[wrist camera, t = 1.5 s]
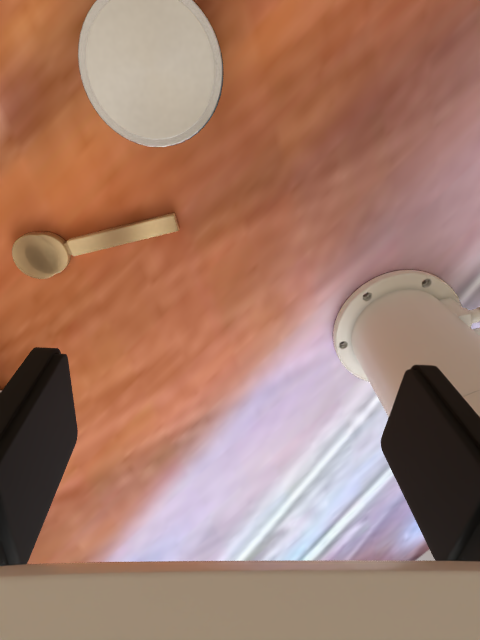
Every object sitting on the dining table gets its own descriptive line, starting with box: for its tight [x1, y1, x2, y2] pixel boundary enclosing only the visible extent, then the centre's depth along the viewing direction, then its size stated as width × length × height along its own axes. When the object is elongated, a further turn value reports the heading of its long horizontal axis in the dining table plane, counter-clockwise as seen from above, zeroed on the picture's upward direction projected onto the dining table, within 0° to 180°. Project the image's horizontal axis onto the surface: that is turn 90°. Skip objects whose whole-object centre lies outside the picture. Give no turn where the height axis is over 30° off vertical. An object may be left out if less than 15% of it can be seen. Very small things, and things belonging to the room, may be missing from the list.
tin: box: [78, 0, 223, 147], centre depth 27 cm, size 9×9×5 cm
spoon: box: [12, 213, 179, 279], centre depth 34 cm, size 14×4×1 cm, turn 103°
